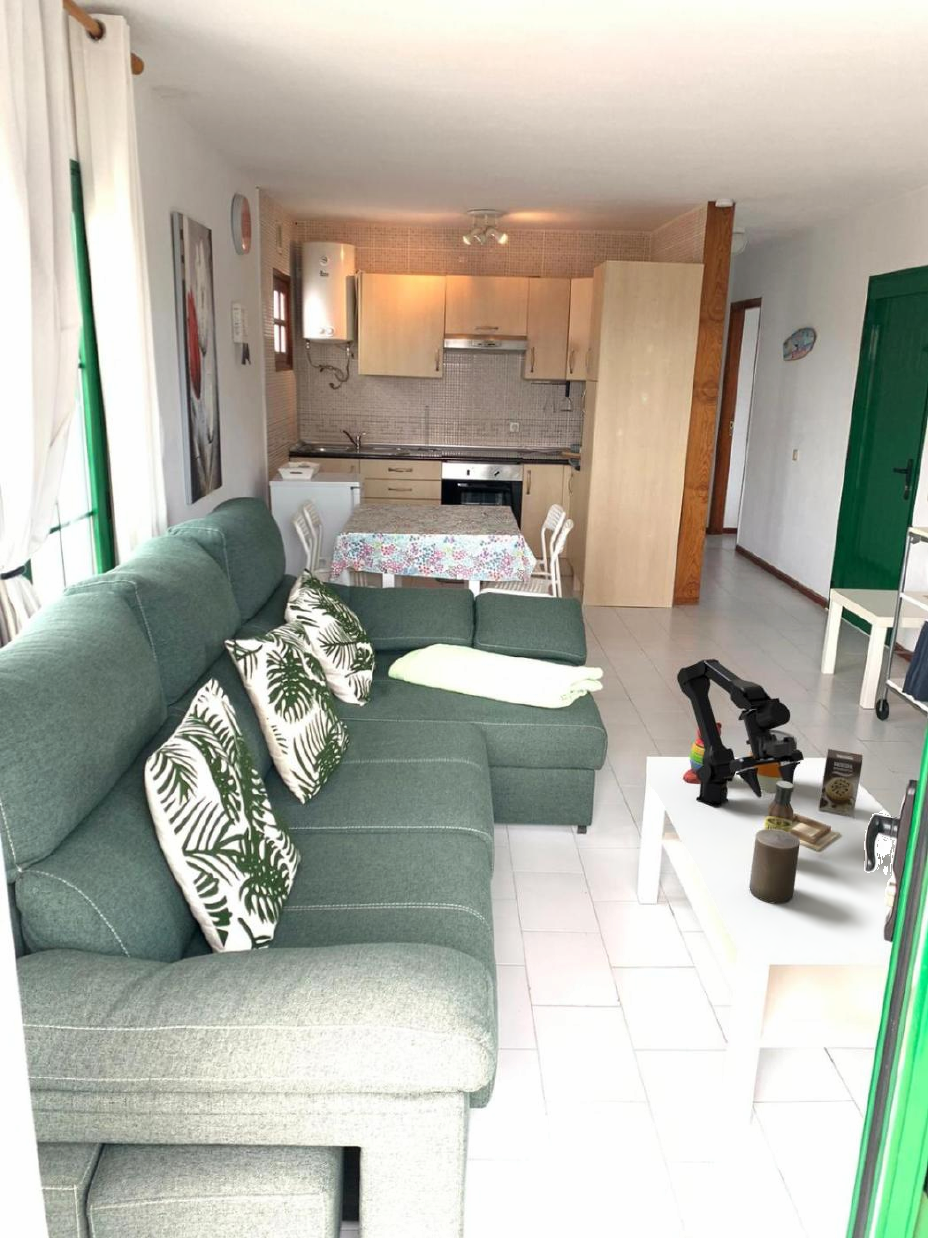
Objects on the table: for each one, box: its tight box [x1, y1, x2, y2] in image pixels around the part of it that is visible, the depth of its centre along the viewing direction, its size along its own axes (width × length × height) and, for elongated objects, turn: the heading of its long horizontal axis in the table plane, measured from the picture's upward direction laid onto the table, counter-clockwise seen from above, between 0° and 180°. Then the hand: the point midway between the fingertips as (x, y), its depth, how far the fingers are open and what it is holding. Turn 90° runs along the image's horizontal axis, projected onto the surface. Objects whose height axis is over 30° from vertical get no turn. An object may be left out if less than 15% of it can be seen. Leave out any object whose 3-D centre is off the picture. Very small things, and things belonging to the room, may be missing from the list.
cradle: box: [791, 812, 841, 852], centre depth 248 cm, size 14×13×2 cm
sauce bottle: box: [763, 781, 795, 833], centre depth 233 cm, size 6×6×20 cm
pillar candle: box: [748, 828, 801, 904], centre depth 218 cm, size 10×10×15 cm
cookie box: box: [818, 748, 863, 818], centre depth 260 cm, size 9×6×16 cm
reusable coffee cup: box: [749, 729, 798, 794], centre depth 274 cm, size 13×12×15 cm
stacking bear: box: [682, 721, 723, 785], centre depth 277 cm, size 11×10×18 cm
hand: (775, 795), depth 240 cm, fingers open, 9 cm apart
